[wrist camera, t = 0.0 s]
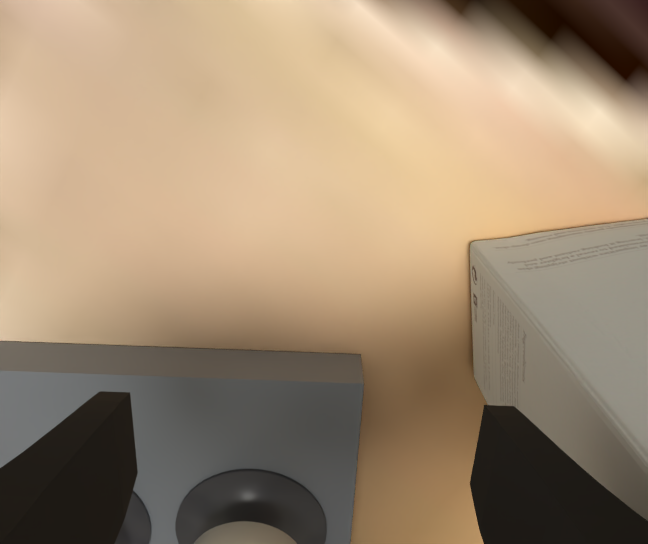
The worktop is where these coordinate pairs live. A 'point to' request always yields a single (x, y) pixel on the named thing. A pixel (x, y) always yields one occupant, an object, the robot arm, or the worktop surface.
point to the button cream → (244, 534)
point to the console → (206, 432)
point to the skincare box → (570, 343)
